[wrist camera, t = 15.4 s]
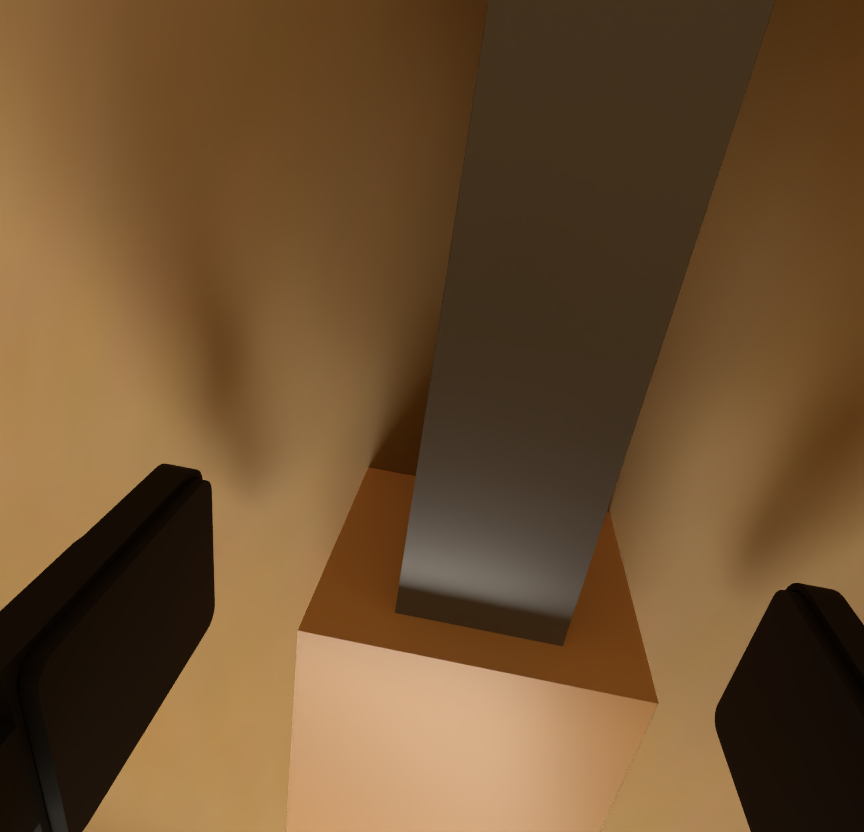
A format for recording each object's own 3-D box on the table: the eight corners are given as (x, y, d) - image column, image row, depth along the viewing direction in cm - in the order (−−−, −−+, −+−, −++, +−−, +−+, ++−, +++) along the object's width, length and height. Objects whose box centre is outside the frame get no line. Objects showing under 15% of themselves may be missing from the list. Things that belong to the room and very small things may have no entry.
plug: (552, 682, 13) (569, 901, 9) (349, 641, 13) (285, 838, 9) (867, -265, 6) (1337, -793, 3) (455, -314, 6) (384, -872, 3)
